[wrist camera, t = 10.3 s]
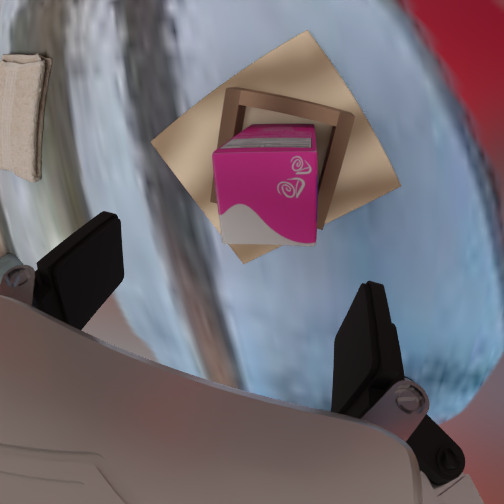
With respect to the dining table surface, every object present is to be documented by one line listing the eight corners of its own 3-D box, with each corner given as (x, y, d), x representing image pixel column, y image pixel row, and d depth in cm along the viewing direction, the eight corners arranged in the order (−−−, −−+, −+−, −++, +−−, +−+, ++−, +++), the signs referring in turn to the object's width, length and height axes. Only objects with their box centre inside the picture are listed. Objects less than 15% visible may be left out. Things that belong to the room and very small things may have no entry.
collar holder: (398, 182, 26) (409, 198, 23) (245, 259, 34) (237, 280, 31) (307, 31, 21) (305, 23, 17) (155, 140, 29) (134, 149, 25)
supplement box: (317, 185, 27) (315, 251, 17) (253, 184, 28) (216, 247, 19) (317, 122, 24) (318, 150, 14) (249, 123, 25) (204, 152, 16)
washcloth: (57, 52, 25) (39, 53, 22) (45, 181, 35) (30, 189, 32) (8, 52, 25) (-8, 54, 22) (1, 162, 35) (-12, 169, 32)
